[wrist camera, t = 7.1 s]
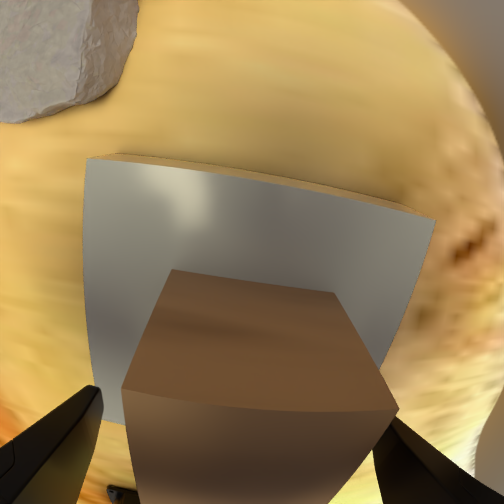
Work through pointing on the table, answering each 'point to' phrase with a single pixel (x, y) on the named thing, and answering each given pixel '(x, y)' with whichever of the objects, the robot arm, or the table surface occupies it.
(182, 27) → the table surface
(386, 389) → the cube
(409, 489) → the robot arm
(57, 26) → the stone block
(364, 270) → the tile
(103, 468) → the table surface
